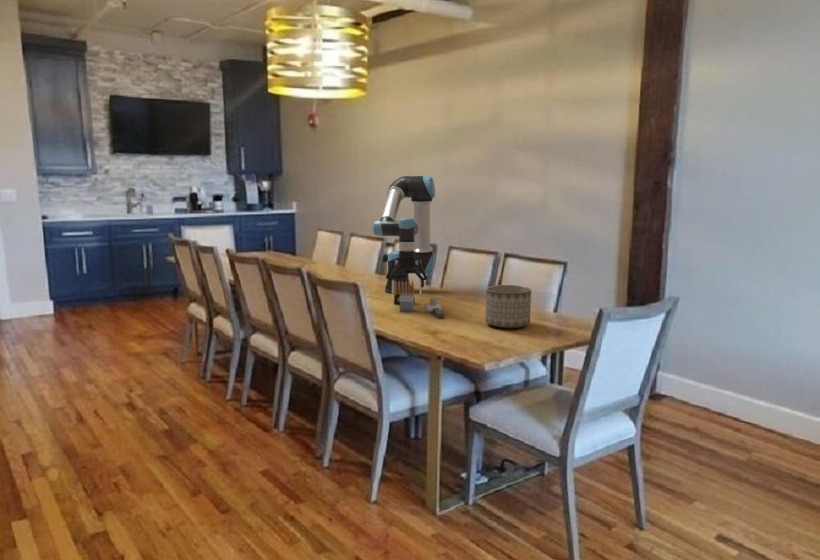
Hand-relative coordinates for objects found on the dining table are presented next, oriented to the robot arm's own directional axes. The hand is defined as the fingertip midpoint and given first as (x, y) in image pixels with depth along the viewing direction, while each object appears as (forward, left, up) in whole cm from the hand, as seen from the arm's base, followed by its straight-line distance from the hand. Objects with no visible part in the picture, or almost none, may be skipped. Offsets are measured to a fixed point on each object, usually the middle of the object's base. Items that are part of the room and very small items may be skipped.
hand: (406, 293), depth 301 cm
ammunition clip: (-15, -4, -9) cm, 18 cm away
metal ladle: (+5, +15, -8) cm, 18 cm away
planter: (+23, +49, -9) cm, 55 cm away
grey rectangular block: (0, 0, -8) cm, 8 cm away
